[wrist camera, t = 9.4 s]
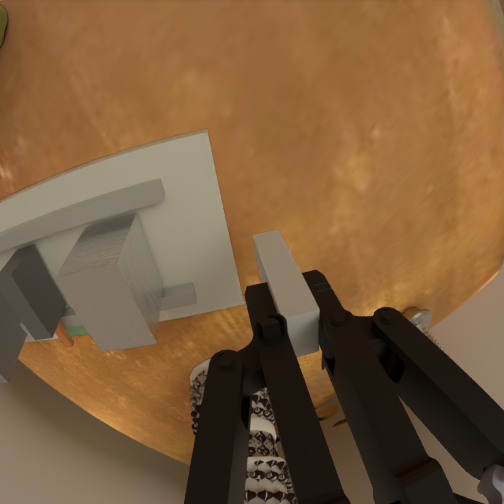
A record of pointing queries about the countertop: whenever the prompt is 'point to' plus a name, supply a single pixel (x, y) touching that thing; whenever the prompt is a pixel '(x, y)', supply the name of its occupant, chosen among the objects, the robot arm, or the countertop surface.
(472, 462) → the robot arm
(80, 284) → the plunger
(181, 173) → the base
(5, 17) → the plant pot
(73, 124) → the countertop surface
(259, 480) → the decorative candle
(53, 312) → the dark grey upright block
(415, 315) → the screw
